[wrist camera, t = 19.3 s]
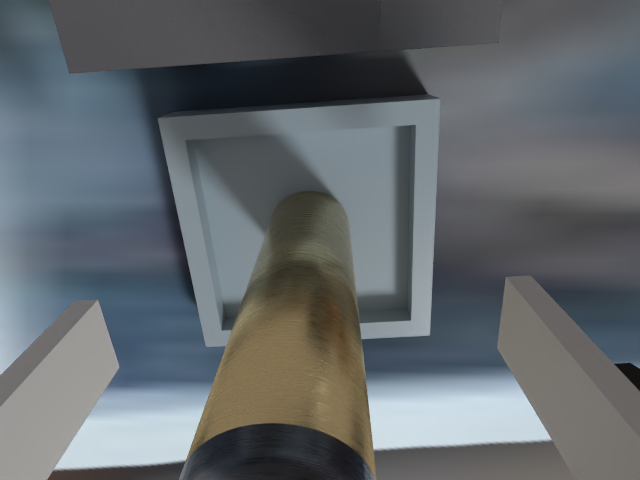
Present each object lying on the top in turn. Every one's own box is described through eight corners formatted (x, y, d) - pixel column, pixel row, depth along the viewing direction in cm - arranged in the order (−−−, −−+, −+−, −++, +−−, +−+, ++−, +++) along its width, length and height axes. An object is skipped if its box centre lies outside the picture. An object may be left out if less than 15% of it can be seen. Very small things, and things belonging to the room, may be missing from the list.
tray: (173, 111, 20) (157, 118, 18) (428, 94, 20) (440, 98, 18) (215, 323, 25) (205, 347, 23) (420, 312, 25) (429, 335, 23)
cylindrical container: (265, 193, 21) (110, 539, 6) (348, 188, 20) (390, 534, 6) (274, 265, 22) (169, 676, 8) (350, 262, 22) (389, 675, 8)
